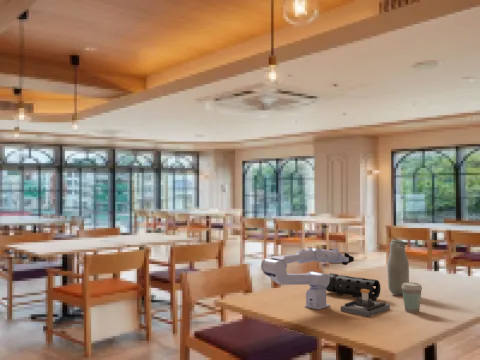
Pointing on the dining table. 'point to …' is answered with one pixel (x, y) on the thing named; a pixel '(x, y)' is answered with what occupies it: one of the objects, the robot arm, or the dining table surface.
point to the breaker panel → (365, 307)
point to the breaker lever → (364, 294)
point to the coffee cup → (412, 296)
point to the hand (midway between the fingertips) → (347, 257)
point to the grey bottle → (397, 267)
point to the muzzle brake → (353, 286)
